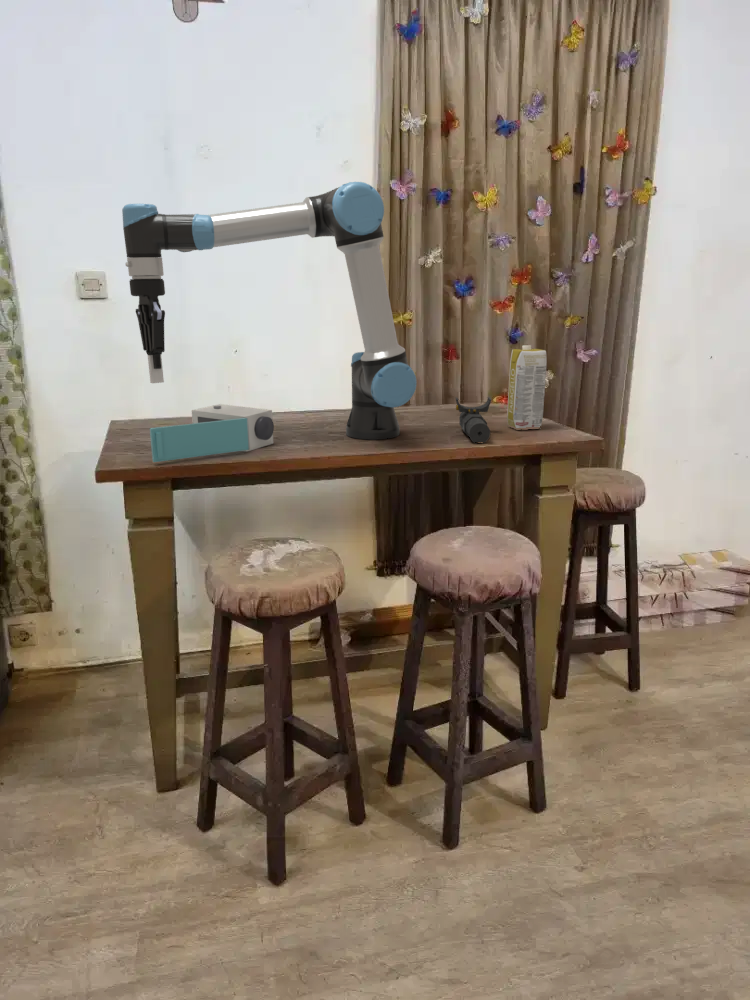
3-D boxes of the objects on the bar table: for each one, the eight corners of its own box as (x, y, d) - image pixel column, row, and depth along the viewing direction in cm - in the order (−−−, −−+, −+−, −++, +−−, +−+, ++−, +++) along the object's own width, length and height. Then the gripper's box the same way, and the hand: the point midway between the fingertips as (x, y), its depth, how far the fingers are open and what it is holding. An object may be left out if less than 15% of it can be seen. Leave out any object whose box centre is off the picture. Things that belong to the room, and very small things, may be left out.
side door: (248, 448, 185) (247, 417, 182) (251, 450, 183) (250, 418, 181) (152, 461, 172) (149, 428, 170) (154, 462, 171) (151, 429, 168)
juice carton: (532, 424, 218) (537, 343, 211) (544, 430, 211) (551, 346, 204) (503, 426, 216) (508, 344, 209) (515, 431, 209) (520, 347, 202)
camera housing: (278, 444, 193) (276, 408, 191) (251, 452, 184) (249, 415, 181) (222, 436, 203) (219, 401, 200) (193, 443, 194) (191, 407, 191)
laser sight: (461, 444, 194) (462, 407, 191) (451, 427, 215) (452, 394, 212) (497, 444, 194) (499, 407, 191) (484, 427, 215) (486, 394, 212)
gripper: (120, 278, 167) (132, 380, 174) (139, 278, 157) (151, 387, 164) (152, 277, 171) (162, 378, 178) (173, 277, 161) (182, 384, 168)
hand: (157, 382), depth 171 cm, fingers closed
